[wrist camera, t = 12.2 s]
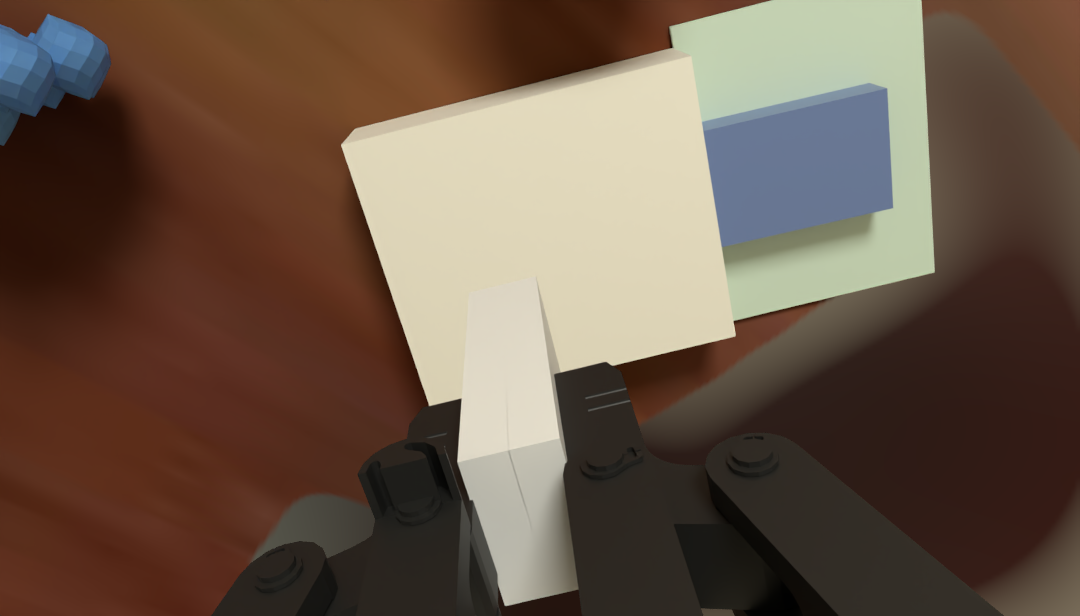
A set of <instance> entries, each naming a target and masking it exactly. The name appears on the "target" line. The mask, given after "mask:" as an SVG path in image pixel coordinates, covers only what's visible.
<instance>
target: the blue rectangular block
mask: <svg viewBox="0 0 1080 616" xmlns="http://www.w3.org/2000/svg"><path fill="white" fill-rule="evenodd" d="M702 126H703V133H704V139H705V145H706V152H707V158H708V164H709V170H710V177H711V183H712V189H713V196H714V202H715V208H716V215H717V221H718V227H719V233H720V240H721V246H722V247H725V246H729V245H734V244H738V243H742V242H747V241H751V240H755V239H760V238H764V237H769V236H773V235H777V234H782V233H786V232H791V231H795V230H799V229H804V228H808V227H813V226H817V225H821V224H826V223H830V222H835V221H839V220H843V219H848V218H852V217H857V216H861V215H865V214H870V213H874V212H879V211H883V210H887V209H892V208H893V192H892V172H891V152H890V132H889V112H888V92H887V88H885V87H881V86H878V85H875V84H871V83H866V84H862V85H858V86H854V87H849V88H845V89H841V90H836V91H832V92H828V93H824V94H819V95H815V96H811V97H806V98H802V99H798V100H793V101H789V102H785V103H781V104H776V105H772V106H768V107H763V108H759V109H755V110H751V111H746V112H742V113H738V114H733V115H729V116H725V117H720V118H716V119H712V120H708V121H703V122H702Z"/></svg>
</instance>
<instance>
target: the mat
mask: <svg viewBox="0 0 1080 616" xmlns="http://www.w3.org/2000/svg"><path fill="white" fill-rule="evenodd" d="M669 30H670V36H671V42H672V48H674V49H676V50H679V51H681V52H683V53H686V54H688V55H690V56H691V57H692V63H693V70H694V76H695V82H696V89H697V95H698V101H699V107H700V114H701V120H702V122H703V121H708V120H712V119H716V118H720V117H725V116H729V115H733V114H738V113H742V112H746V111H751V110H755V109H759V108H763V107H768V106H772V105H776V104H781V103H785V102H789V101H793V100H798V99H802V98H806V97H811V96H815V95H819V94H824V93H828V92H832V91H836V90H841V89H845V88H849V87H854V86H858V85H862V84H866V83H871V84H875V85H878V86H881V87H885V88H887V92H888V112H889V132H890V152H891V172H892V192H893V208H892V209H887V210H883V211H879V212H874V213H870V214H865V215H861V216H857V217H852V218H848V219H843V220H839V221H835V222H830V223H826V224H821V225H817V226H813V227H808V228H804V229H799V230H795V231H791V232H786V233H782V234H777V235H773V236H769V237H764V238H760V239H755V240H751V241H747V242H742V243H738V244H734V245H729V246H725V247H722V252H723V259H724V265H725V271H726V277H727V284H728V290H729V296H730V303H731V309H732V315H733V321H735V320H739V319H743V318H747V317H751V316H756V315H760V314H764V313H768V312H772V311H776V310H781V309H785V308H789V307H793V306H797V305H801V304H806V303H810V302H814V301H818V300H822V299H826V298H830V297H835V296H839V295H843V294H847V293H851V292H855V291H859V290H864V289H868V288H872V287H876V286H880V285H884V284H889V283H893V282H897V281H901V280H905V279H909V278H914V277H918V276H922V275H926V274H930V273H934V272H935V271H934V270H935V269H934V249H933V229H932V208H931V187H930V168H929V146H928V127H927V106H926V85H925V65H924V44H923V24H922V3H921V0H771V1H767V2H763V3H759V4H756V5H752V6H748V7H744V8H740V9H736V10H732V11H728V12H724V13H720V14H717V15H713V16H709V17H705V18H701V19H697V20H693V21H689V22H685V23H681V24H678V25H674V26H670V27H669Z"/></svg>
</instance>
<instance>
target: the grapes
mask: <svg viewBox="0 0 1080 616" xmlns="http://www.w3.org/2000/svg"><path fill="white" fill-rule="evenodd" d="M110 65H111V61H110V55H109V51H108V47H107V45H106V44H105V43H104V42H103V41H101V40H100V39H98V38H97V37H96V36H94V35H93V34H91V33H90V32H89V31H87V30H86V29H84V28H83V27H81V26H78V25H76V24H73V23H70V22H68V21H65V20H62V19H60V18H57V17H54V16H51V15H49V14H48V15H47V16H46V18H45V20H44V21H43V23H42V24H41V26H40V27H39V29H38V31H37V33H36V34H34V33H30V35H29V36H28V38H27V37H24V36H23V35H21V34H19V33H18V32H16V31H15V30H13V29H11V28H8V27H6V26H3V25H0V145H3V146H4V144H5V143H6V141H7V140H8V138H9V136H10V135H11V133H12V131H13V129H14V128H15V126H16V124H17V122H18V119H19V116H20V113H24V114H28V115H31V116H34V117H36V115H37V114H38V112H39V110H40V109H41V107H42V106H43V105H45V106H48V107H51V108H54V109H56V108H57V106H58V104H59V103H60V101H61V100H62V98H63V96H64V94H65V92H67V93H70V94H72V95H75V96H78V97H81V98H85V99H88V100H90V98H91V97H92V98H94V97H95V95H96V94H97V92H98V90H99V89H100V87H101V86H102V83H103V81H104V79H105V77H106V75H107V72H108V70H109V68H110Z"/></svg>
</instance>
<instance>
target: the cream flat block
mask: <svg viewBox="0 0 1080 616" xmlns="http://www.w3.org/2000/svg"><path fill="white" fill-rule="evenodd" d="M341 146H342V149H343V152H344V155H345V158H346V161H347V164H348V167H349V170H350V173H351V176H352V179H353V182H354V185H355V188H356V191H357V194H358V197H359V199H360V202H361V205H362V208H363V211H364V214H365V217H366V220H367V223H368V226H369V229H370V232H371V235H372V238H373V241H374V244H375V247H376V250H377V253H378V256H379V259H380V262H381V264H382V267H383V270H384V273H385V276H386V279H387V282H388V285H389V288H390V291H391V294H392V297H393V300H394V303H395V306H396V309H397V312H398V315H399V318H400V321H401V324H402V326H403V329H404V332H405V335H406V338H407V341H408V344H409V347H410V350H411V353H412V356H413V359H414V362H415V365H416V368H417V371H418V374H419V377H420V380H421V383H422V386H423V389H424V391H425V394H426V397H427V400H428V403H429V406H432V405H436V404H440V403H444V402H448V401H452V400H457V399H461V398H462V387H463V373H464V358H465V343H466V329H467V314H468V300H469V293H470V292H474V291H478V290H482V289H486V288H490V287H494V286H498V285H502V284H506V283H510V282H515V281H519V280H523V279H527V278H531V277H535V276H536V278H537V282H538V286H539V290H540V294H541V298H542V302H543V305H544V309H545V313H546V317H547V321H548V325H549V329H550V332H551V336H552V340H553V344H554V348H555V352H556V356H557V359H558V363H559V367H560V371H561V372H565V371H569V370H573V369H577V368H581V367H586V366H590V365H594V364H598V363H602V362H607V363H609V364H610V365H612V366H613V365H618V364H622V363H626V362H630V361H634V360H638V359H643V358H647V357H651V356H655V355H659V354H664V353H668V352H672V351H676V350H680V349H684V348H689V347H693V346H697V345H701V344H705V343H709V342H714V341H718V340H722V339H726V338H730V337H734V336H736V334H735V328H734V322H733V315H732V309H731V303H730V296H729V290H728V284H727V277H726V271H725V265H724V259H723V252H722V246H721V240H720V233H719V227H718V221H717V215H716V208H715V202H714V196H713V189H712V183H711V177H710V170H709V164H708V158H707V152H706V145H705V139H704V133H703V126H702V120H701V114H700V107H699V101H698V95H697V89H696V82H695V76H694V70H693V63H692V57H691V56H690V55H688V54H686V53H683V52H681V51H679V50H676V49H674V48H670V49H666V50H662V51H658V52H654V53H650V54H647V55H643V56H639V57H635V58H631V59H627V60H623V61H619V62H615V63H611V64H607V65H603V66H599V67H596V68H592V69H588V70H584V71H580V72H576V73H572V74H568V75H564V76H560V77H556V78H552V79H549V80H545V81H541V82H537V83H533V84H529V85H525V86H521V87H517V88H513V89H509V90H505V91H501V92H498V93H494V94H490V95H486V96H482V97H478V98H474V99H470V100H466V101H462V102H458V103H454V104H450V105H447V106H443V107H439V108H435V109H431V110H427V111H423V112H419V113H415V114H411V115H407V116H403V117H400V118H396V119H392V120H388V121H384V122H380V123H376V124H372V125H368V126H364V127H360V128H356V129H354V131H353V132H352V133H351V134H350V135H349V136H348V138H347V139H346V140H345V141H344V142H343V143H342V145H341Z"/></svg>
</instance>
